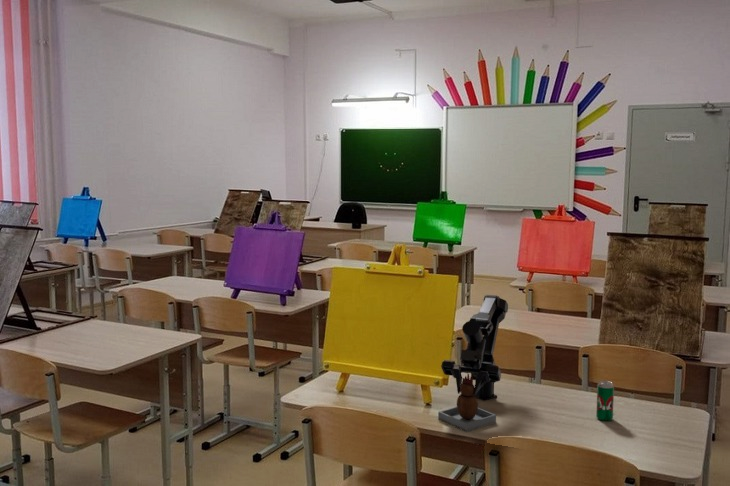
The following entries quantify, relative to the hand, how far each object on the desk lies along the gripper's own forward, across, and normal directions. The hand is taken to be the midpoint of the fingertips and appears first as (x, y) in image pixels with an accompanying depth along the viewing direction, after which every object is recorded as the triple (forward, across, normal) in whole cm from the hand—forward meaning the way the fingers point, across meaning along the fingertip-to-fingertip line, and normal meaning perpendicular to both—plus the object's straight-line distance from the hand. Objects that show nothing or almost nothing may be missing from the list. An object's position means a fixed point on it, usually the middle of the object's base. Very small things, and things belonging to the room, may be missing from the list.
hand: (466, 394), depth 215 cm
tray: (+6, 0, +7) cm, 9 cm away
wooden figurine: (+5, 0, +7) cm, 9 cm away
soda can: (-7, +41, +20) cm, 46 cm away
